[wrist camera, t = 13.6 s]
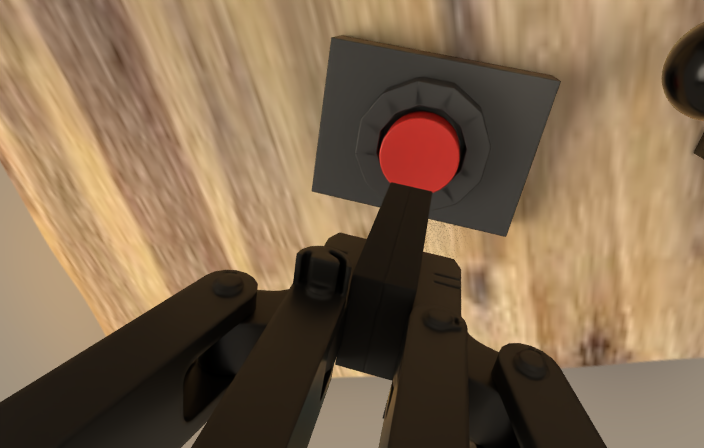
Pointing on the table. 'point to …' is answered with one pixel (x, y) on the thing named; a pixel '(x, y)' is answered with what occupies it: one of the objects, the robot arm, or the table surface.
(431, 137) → the stop button
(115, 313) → the table surface
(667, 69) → the switch lever
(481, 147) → the stop box
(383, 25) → the table surface
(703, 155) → the switch bracket
